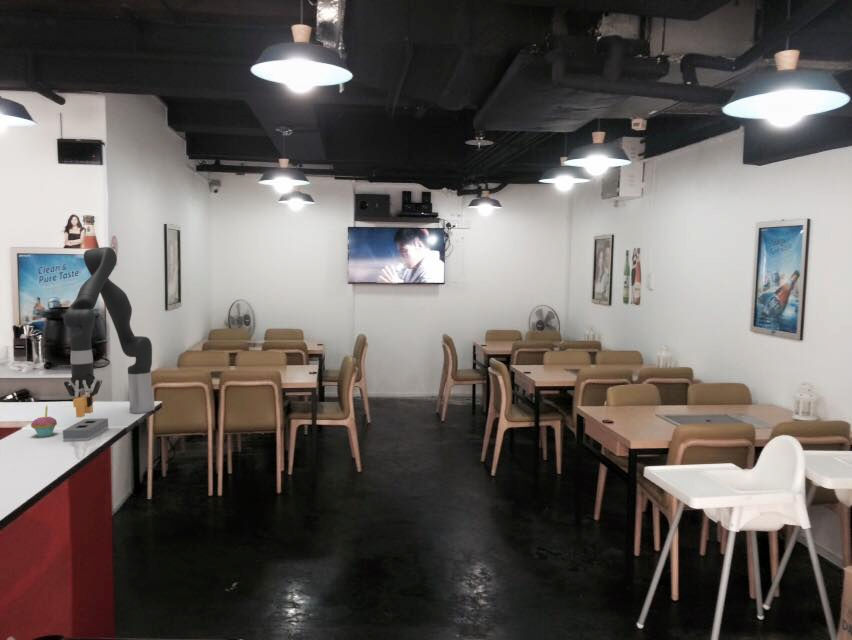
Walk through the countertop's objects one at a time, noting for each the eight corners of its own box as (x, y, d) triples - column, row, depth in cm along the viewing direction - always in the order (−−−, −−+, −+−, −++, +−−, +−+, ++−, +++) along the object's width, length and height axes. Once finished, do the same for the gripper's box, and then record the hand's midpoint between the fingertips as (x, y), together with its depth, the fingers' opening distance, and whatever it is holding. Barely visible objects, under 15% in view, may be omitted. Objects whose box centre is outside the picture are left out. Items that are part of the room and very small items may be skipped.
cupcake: (62, 433, 256) (60, 402, 255) (43, 439, 248) (41, 407, 247) (46, 431, 259) (43, 401, 258) (26, 437, 251) (24, 406, 250)
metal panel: (85, 428, 262) (84, 418, 262) (108, 428, 263) (107, 418, 263) (63, 441, 244) (62, 430, 244) (88, 440, 245) (87, 429, 245)
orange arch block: (87, 411, 258) (86, 393, 258) (95, 411, 258) (94, 393, 258) (74, 417, 247) (73, 399, 247) (82, 417, 247) (81, 399, 247)
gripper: (105, 360, 255) (107, 404, 257) (67, 360, 254) (70, 405, 256) (96, 362, 248) (99, 408, 249) (58, 363, 247) (60, 409, 248)
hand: (84, 406), depth 253 cm, fingers closed on orange arch block, 3 cm apart
